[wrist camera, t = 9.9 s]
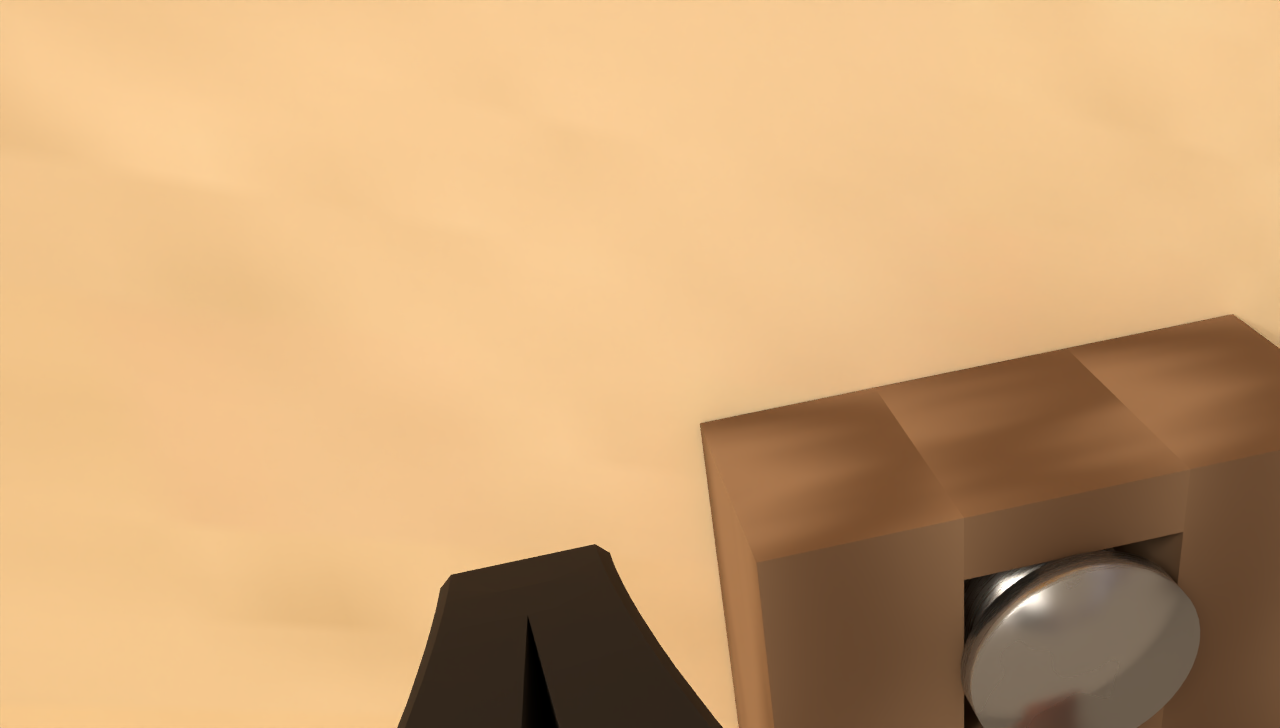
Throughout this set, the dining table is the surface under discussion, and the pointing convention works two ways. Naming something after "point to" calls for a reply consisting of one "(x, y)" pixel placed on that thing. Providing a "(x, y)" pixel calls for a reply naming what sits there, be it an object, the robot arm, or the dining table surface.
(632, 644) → the robot arm
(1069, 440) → the socket block
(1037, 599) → the grey plug
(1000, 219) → the dining table surface
